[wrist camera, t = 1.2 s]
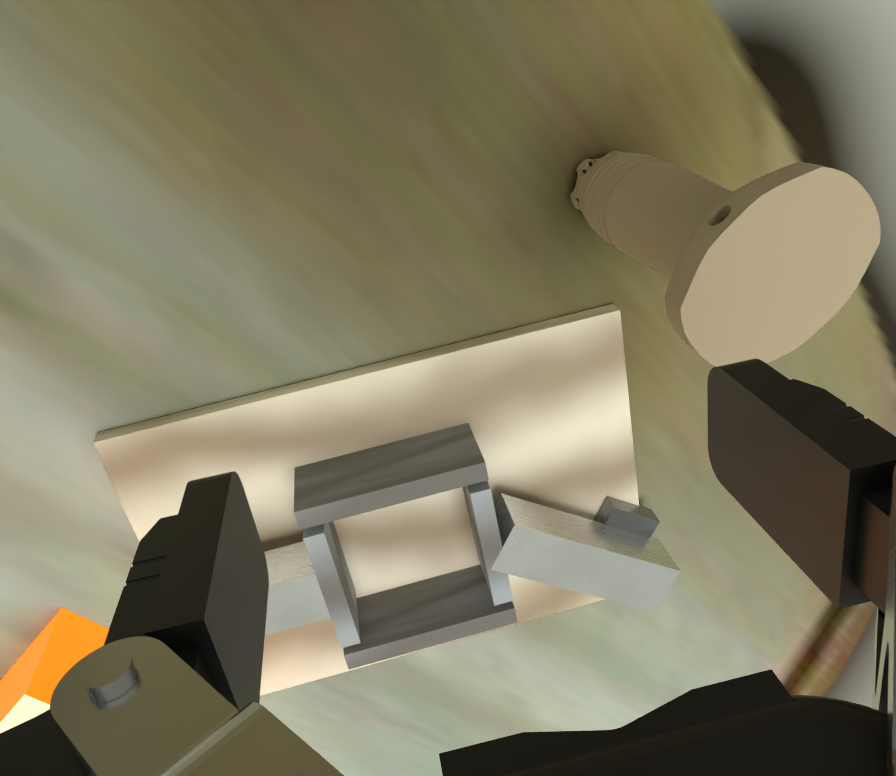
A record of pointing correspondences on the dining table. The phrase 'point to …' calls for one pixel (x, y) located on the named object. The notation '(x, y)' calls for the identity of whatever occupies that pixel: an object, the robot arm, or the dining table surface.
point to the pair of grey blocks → (521, 559)
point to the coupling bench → (404, 481)
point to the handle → (736, 247)
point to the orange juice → (46, 666)
